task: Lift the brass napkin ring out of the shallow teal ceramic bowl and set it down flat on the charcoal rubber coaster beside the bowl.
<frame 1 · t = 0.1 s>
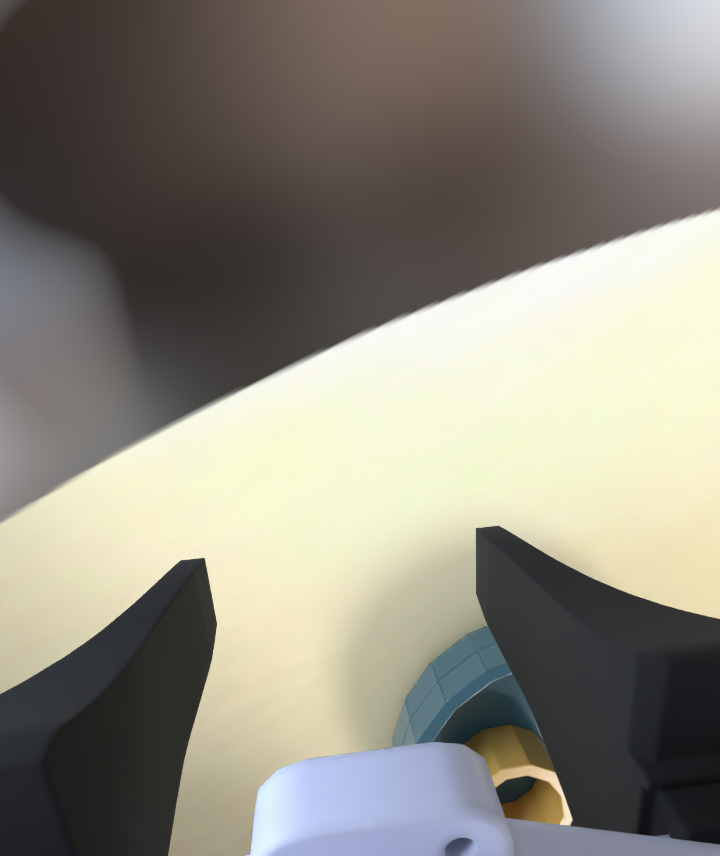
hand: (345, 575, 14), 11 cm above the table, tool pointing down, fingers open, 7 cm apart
napkin ring: (501, 769, 27), resting on bowl
bowl: (529, 738, 27), on the table
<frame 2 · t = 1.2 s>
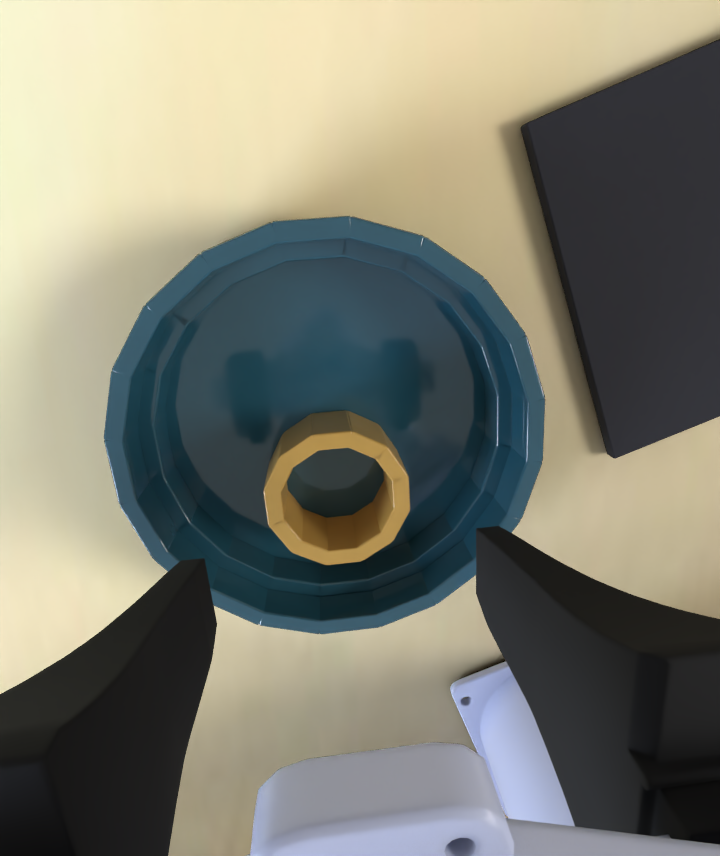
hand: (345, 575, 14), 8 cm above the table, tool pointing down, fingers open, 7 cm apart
napkin ring: (335, 472, 21), resting on bowl
coaster: (717, 244, 20), on the table
bowl: (329, 420, 21), on the table
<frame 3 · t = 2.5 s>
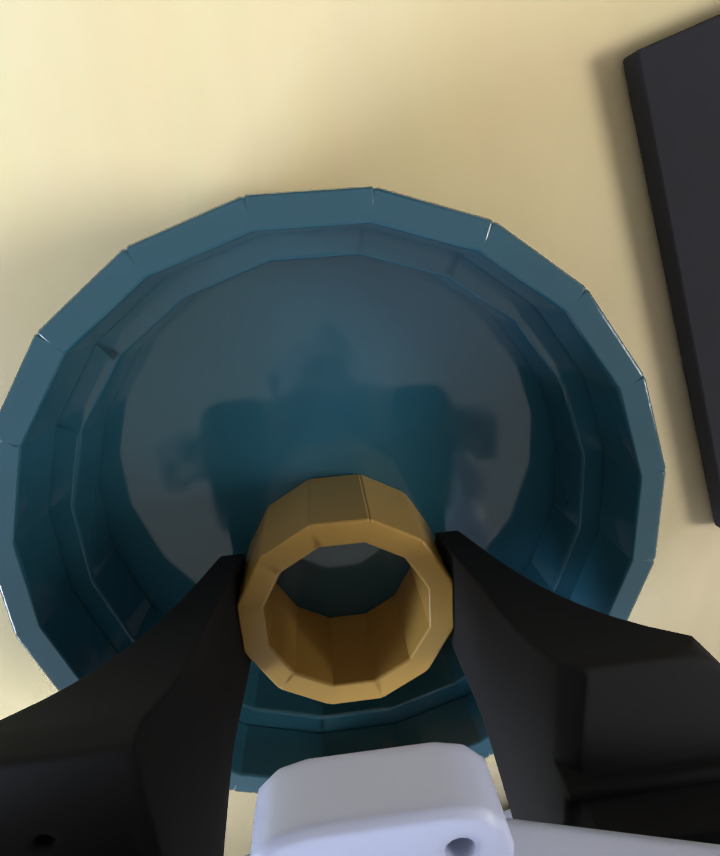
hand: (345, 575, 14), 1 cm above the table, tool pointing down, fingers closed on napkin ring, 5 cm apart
napkin ring: (342, 557, 15), point 1 cm above the table, touching bowl, gripper
bowl: (335, 484, 15), on the table
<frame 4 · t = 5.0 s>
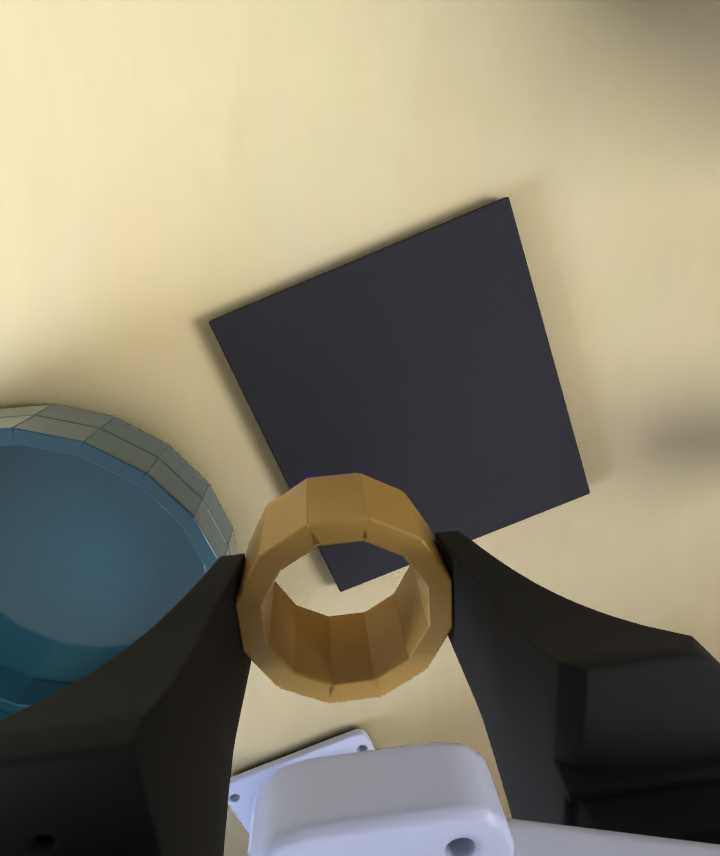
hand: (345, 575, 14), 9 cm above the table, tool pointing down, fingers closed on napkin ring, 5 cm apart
napkin ring: (341, 556, 15), point 8 cm above the table, touching gripper
coaster: (413, 411, 22), on the table
bowl: (72, 561, 23), on the table
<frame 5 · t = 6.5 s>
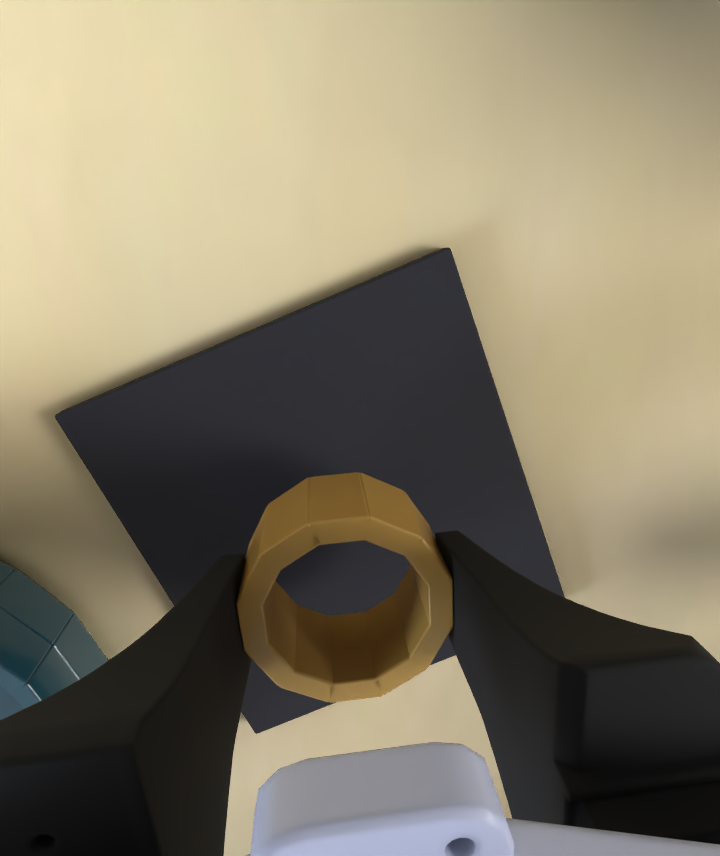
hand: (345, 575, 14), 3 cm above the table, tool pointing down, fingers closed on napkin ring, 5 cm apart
napkin ring: (341, 555, 15), point 3 cm above the table, touching gripper
coaster: (338, 515, 17), on the table
when the fingers open (1 cm above the table, at t = 7.6 s): napkin ring stays where it is, resting on coaster.
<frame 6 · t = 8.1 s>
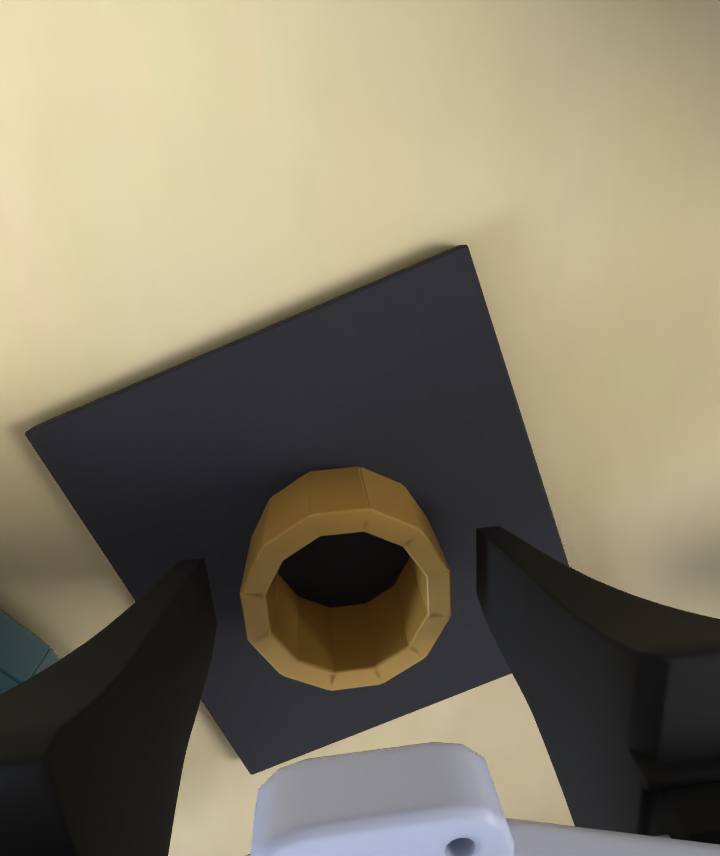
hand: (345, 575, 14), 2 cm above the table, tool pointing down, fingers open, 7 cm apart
napkin ring: (342, 548, 15), point 1 cm above the table, touching coaster
coaster: (341, 539, 16), on the table
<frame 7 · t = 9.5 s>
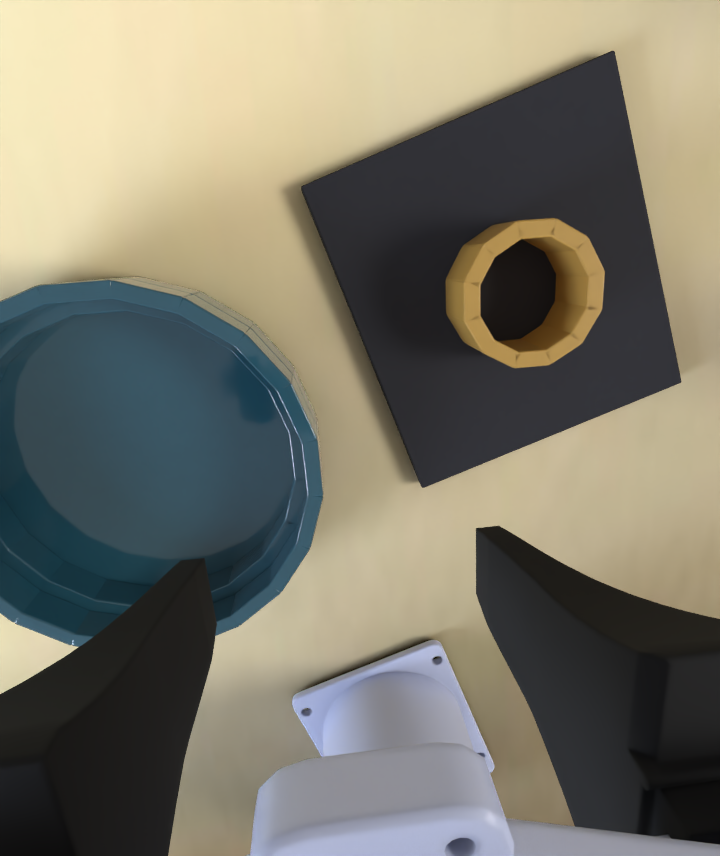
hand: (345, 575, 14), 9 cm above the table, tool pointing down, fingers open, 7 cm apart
napkin ring: (508, 291, 21), point 1 cm above the table, touching coaster
coaster: (502, 292, 21), on the table
bowl: (149, 453, 22), on the table
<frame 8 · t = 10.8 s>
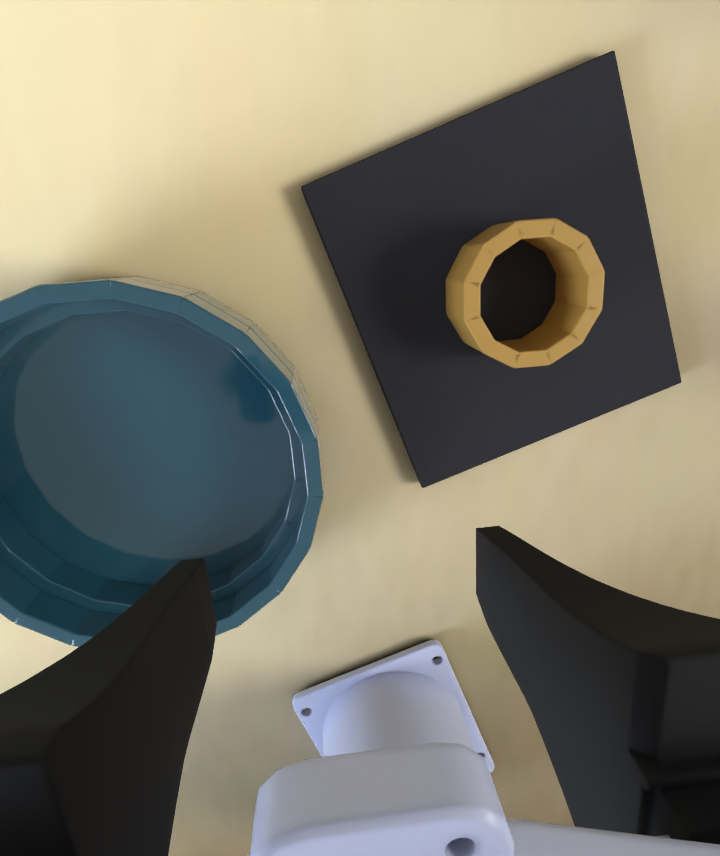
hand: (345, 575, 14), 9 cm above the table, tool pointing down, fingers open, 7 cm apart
napkin ring: (508, 291, 21), point 1 cm above the table, touching coaster
coaster: (503, 292, 21), on the table
bowl: (150, 453, 22), on the table
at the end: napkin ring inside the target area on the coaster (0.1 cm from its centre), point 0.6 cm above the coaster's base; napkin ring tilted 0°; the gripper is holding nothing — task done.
